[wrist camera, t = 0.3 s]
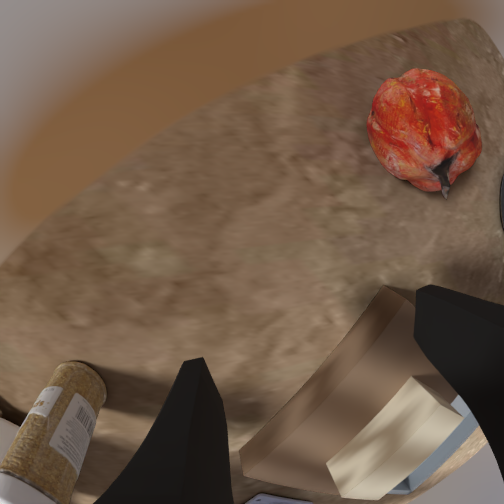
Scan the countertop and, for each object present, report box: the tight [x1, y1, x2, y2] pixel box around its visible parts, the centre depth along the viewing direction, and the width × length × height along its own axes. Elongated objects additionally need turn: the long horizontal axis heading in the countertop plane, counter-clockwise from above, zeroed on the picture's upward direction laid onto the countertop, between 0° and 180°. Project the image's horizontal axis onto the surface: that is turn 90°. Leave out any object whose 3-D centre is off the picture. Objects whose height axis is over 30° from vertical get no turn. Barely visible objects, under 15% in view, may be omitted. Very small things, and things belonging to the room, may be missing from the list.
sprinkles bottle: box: [0, 361, 107, 504], centre depth 13 cm, size 5×5×13 cm
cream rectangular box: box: [326, 376, 464, 500], centre depth 19 cm, size 10×5×4 cm, turn 144°
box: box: [387, 395, 479, 494], centre depth 25 cm, size 17×11×2 cm
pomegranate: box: [367, 68, 482, 200], centre depth 15 cm, size 7×7×10 cm
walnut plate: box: [239, 285, 458, 495], centre depth 22 cm, size 18×14×3 cm
